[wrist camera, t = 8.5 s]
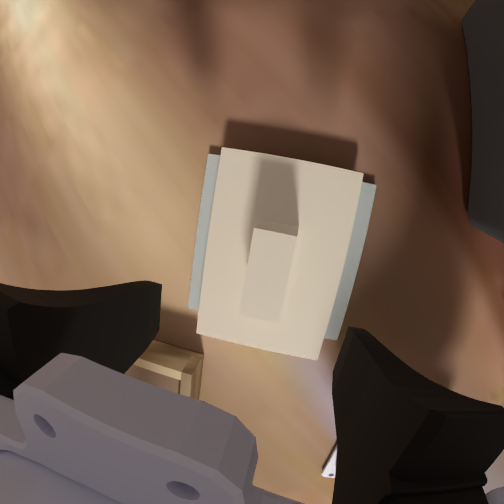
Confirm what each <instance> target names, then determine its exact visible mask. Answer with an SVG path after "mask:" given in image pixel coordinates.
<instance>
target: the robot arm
mask: <svg viewBox="0 0 504 504" xmlns="http://www.w3.org/2000/svg"><path fill="white" fill-rule="evenodd" d="M161 291H162V284H159V283H155V282H151V281H136V282H129V283H123V284H118V285H112V286H106V287H99V288H92V289H84V290H68V291H54V290H35V289H27V288H20V287H14V286H10V285H5V284H1V283H0V504H304V503H301V502H298V501H295V500H292V499H289V498H286V497H283V496H280V495H277V494H274V493H272V492H269V491H266V490H264V489H261V488H259V487H256V486H254V485H253V484H252V482H253V477H254V473H255V468H256V464H257V460H258V453H257V445H256V437H255V436H254V435H253V434H252V433H251V432H250V431H249V430H248V429H247V428H246V427H245V426H244V425H243V424H242V422H241V421H240V420H239V419H238V418H237V417H236V416H234V415H232V414H230V413H227V412H225V411H223V410H221V409H219V408H217V407H215V406H212V405H210V404H208V403H206V402H204V401H201V400H198V399H194V398H191V397H188V396H184V395H181V394H178V393H175V392H172V391H169V390H166V389H163V388H160V387H157V386H154V385H151V384H149V383H146V382H143V381H140V380H138V379H135V378H132V377H130V376H127V375H124V374H125V373H126V372H127V370H128V369H129V368H130V367H131V366H132V365H133V364H134V363H135V362H136V361H137V359H138V358H139V357H140V356H141V355H142V354H143V353H144V352H145V350H146V349H147V348H148V347H149V345H150V344H151V342H152V341H153V339H154V338H155V336H156V334H157V333H158V331H159V322H160V305H161ZM332 396H333V406H334V415H335V425H336V435H337V445H336V447H335V449H334V451H333V452H332V454H331V456H330V458H329V460H328V462H327V463H326V465H325V467H324V469H323V470H322V476H324V477H332V478H335V483H334V492H333V500H332V504H504V487H501V488H496V489H494V490H491V491H490V492H488V493H487V494H485V493H484V490H483V488H482V486H485V484H486V483H487V478H486V475H485V472H486V470H487V469H488V468H489V467H490V466H491V465H492V463H493V462H494V461H495V460H496V458H497V457H498V456H499V455H500V453H501V452H502V451H503V449H504V408H503V407H502V406H500V405H495V404H491V403H487V402H483V401H479V400H475V399H472V398H469V397H466V396H464V395H461V394H458V393H456V392H453V391H451V390H449V389H447V388H445V387H442V386H440V385H438V384H436V383H434V382H433V381H431V380H429V379H427V378H426V377H424V376H423V375H421V374H419V373H418V372H416V371H415V370H413V369H412V368H410V367H409V366H408V365H406V364H405V363H404V362H403V361H401V360H400V359H399V358H398V357H396V356H395V355H394V354H393V353H392V352H390V351H389V350H388V349H387V348H386V347H385V346H384V345H383V344H381V343H380V342H379V341H378V340H377V339H376V338H375V337H374V336H372V335H371V334H370V333H369V332H367V331H366V330H364V329H360V328H354V327H349V326H348V329H347V332H346V335H345V338H344V341H343V344H342V347H341V350H340V353H339V356H338V359H337V362H336V364H335V367H334V370H333V381H332Z"/></svg>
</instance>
